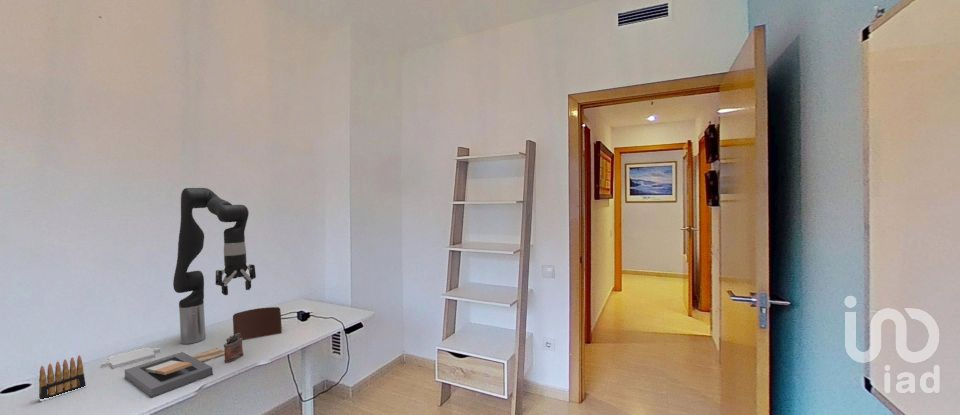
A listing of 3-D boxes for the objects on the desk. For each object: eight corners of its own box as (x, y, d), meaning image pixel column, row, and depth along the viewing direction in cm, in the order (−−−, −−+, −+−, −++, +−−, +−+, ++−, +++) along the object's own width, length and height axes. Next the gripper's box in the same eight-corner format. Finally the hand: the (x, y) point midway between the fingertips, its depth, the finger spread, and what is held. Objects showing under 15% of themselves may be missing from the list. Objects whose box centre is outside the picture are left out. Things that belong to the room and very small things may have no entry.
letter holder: (281, 333, 180) (280, 305, 179) (233, 342, 170) (232, 312, 170) (281, 327, 189) (280, 300, 188) (236, 335, 179) (234, 307, 179)
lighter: (229, 363, 148) (227, 339, 147) (222, 362, 148) (221, 339, 148) (245, 354, 156) (244, 332, 155) (238, 354, 156) (237, 331, 156)
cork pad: (190, 357, 154) (190, 356, 154) (217, 349, 162) (217, 347, 162) (200, 363, 149) (200, 361, 149) (227, 353, 157) (227, 352, 157)
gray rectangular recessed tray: (124, 377, 138) (124, 369, 138) (182, 358, 153) (182, 351, 153) (151, 397, 123) (151, 389, 123) (212, 374, 138) (212, 367, 138)
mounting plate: (156, 348, 165) (155, 344, 165) (163, 356, 157) (162, 351, 157) (99, 363, 151) (99, 359, 151) (103, 372, 143) (103, 367, 143)
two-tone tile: (145, 371, 140) (145, 368, 140) (171, 362, 147) (171, 360, 147) (165, 374, 129) (164, 372, 129) (191, 365, 136) (191, 362, 136)
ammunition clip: (83, 385, 132) (81, 353, 132) (85, 387, 132) (83, 354, 131) (39, 401, 123) (36, 366, 123) (40, 402, 122) (38, 367, 122)
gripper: (248, 250, 156) (249, 287, 157) (210, 255, 144) (212, 295, 144) (258, 251, 153) (259, 289, 153) (220, 256, 140) (222, 297, 141)
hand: (237, 292), depth 149 cm, fingers open, 8 cm apart
